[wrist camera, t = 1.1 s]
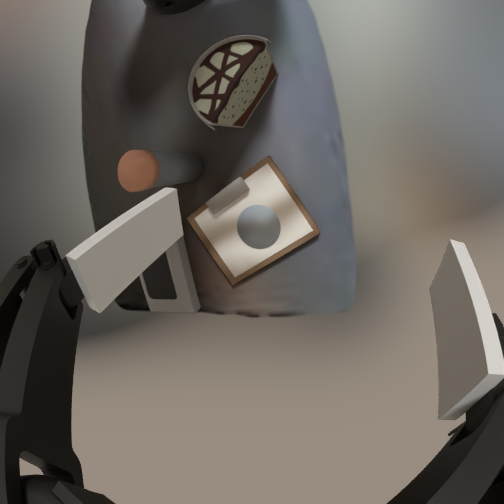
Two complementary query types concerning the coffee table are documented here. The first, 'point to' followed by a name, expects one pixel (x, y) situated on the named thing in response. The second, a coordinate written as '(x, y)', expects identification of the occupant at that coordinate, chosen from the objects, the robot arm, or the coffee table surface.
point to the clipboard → (253, 221)
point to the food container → (231, 80)
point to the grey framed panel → (171, 282)
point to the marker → (157, 169)
